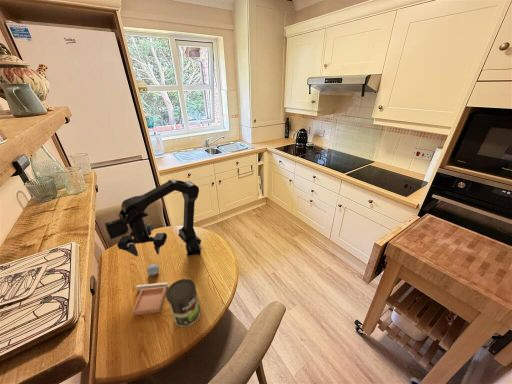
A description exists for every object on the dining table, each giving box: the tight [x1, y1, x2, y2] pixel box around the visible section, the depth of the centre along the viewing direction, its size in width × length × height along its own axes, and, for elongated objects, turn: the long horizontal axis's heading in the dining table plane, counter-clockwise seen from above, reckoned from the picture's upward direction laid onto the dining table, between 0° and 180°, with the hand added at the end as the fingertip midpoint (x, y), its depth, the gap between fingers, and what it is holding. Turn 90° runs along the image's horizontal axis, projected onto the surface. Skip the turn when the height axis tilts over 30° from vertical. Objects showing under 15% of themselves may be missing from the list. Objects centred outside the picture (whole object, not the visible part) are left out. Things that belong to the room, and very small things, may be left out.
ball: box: [146, 263, 160, 276], centre depth 100 cm, size 5×5×5 cm
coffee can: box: [165, 278, 201, 328], centre depth 80 cm, size 10×10×14 cm
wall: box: [135, 281, 169, 292], centre depth 93 cm, size 13×1×2 cm, turn 97°
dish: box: [131, 287, 168, 316], centre depth 88 cm, size 10×10×2 cm
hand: (147, 254), depth 96 cm, fingers open, 9 cm apart
